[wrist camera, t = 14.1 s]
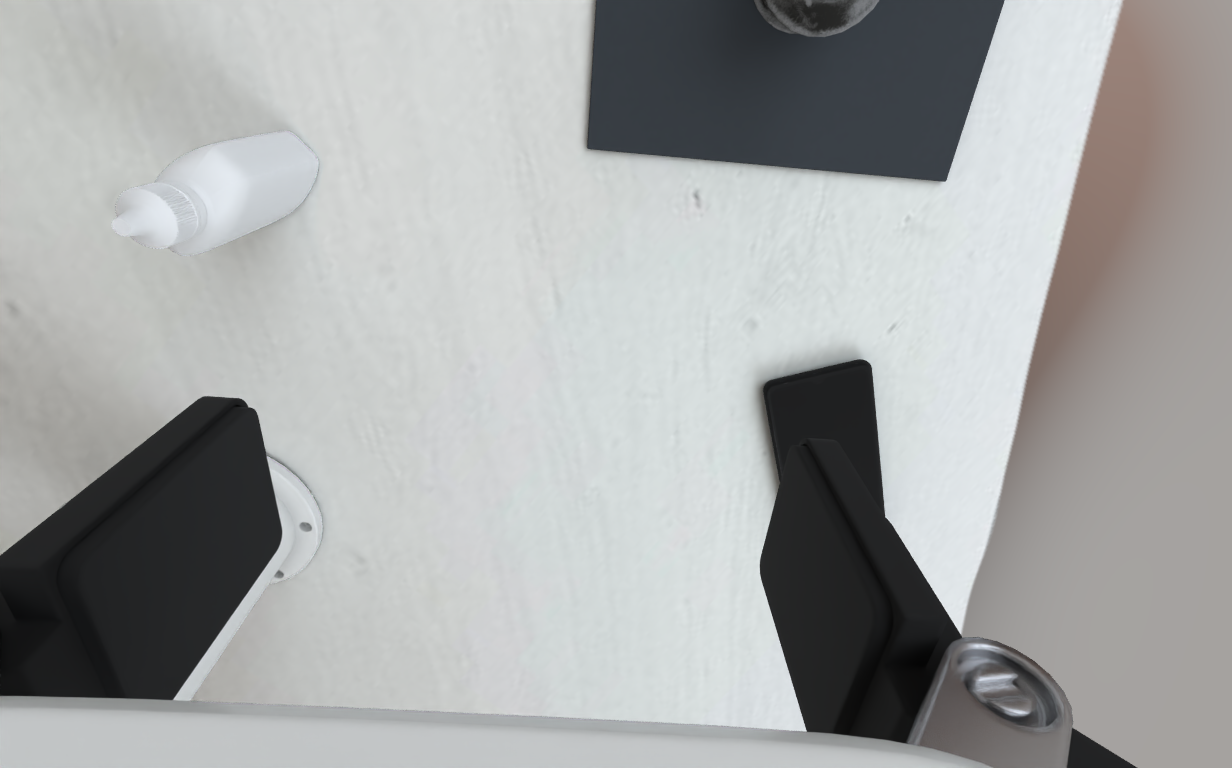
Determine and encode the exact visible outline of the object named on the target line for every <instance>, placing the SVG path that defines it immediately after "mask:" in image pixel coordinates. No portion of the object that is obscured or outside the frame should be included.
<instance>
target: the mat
mask: <svg viewBox="0 0 1232 768" xmlns="http://www.w3.org/2000/svg"><path fill="white" fill-rule="evenodd" d="M1003 4H1004V0H879V1H878V3H877V4H876V6H875V7H874V9H873V10H872V11H870V12H869V13H868V14H867V15H866V16H865V17H864V18H863V19H862V20H861V21H860V22H859V23H857V24H855V25H854V26H852V27H850V28H849V29H847V30H845V31H844V32H841V33H837V34H834V35H830V36H826V37H808V36H805V35H802V34H789V33H786V32H783V31H781V30H778V29H776V28H775V27H773V26H772V25H771V24H769V23H768V22H767V21H766V20H765V19H764V18H763V16H762V15H761V14H760V12H759V11H758V9H757V7H756V5H755V2H754V0H596V15H595V32H594V48H593V65H592V81H591V98H590V114H589V131H588V147H587V148H588V149H594V150H605V151H616V152H627V153H638V154H649V155H660V156H671V157H682V158H693V159H704V160H715V161H726V162H737V163H748V164H759V165H770V166H781V167H792V168H803V169H814V170H825V171H836V172H847V173H857V174H868V175H879V176H890V177H901V178H912V179H923V180H934V181H946V180H947V177H948V173H949V170H950V167H951V164H952V161H953V158H954V155H955V152H956V149H957V146H958V143H959V139H960V136H961V133H962V130H963V127H964V124H965V121H966V118H967V115H968V112H969V109H970V106H971V102H972V99H973V96H974V93H975V90H976V87H977V84H978V81H979V78H980V75H981V72H982V68H983V65H984V62H985V59H986V56H987V53H988V50H989V47H990V44H991V41H992V38H993V34H994V31H995V28H996V25H997V22H998V19H999V16H1000V13H1001V10H1002V7H1003Z"/></svg>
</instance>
